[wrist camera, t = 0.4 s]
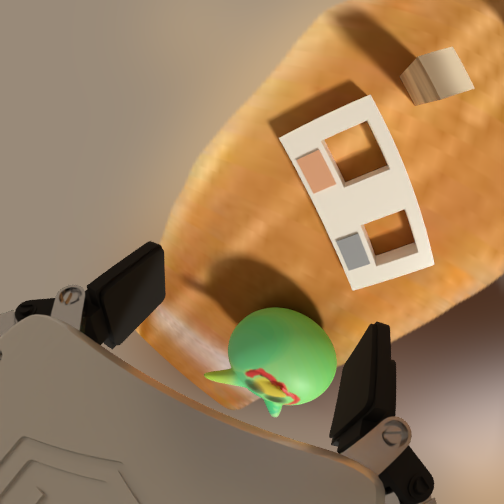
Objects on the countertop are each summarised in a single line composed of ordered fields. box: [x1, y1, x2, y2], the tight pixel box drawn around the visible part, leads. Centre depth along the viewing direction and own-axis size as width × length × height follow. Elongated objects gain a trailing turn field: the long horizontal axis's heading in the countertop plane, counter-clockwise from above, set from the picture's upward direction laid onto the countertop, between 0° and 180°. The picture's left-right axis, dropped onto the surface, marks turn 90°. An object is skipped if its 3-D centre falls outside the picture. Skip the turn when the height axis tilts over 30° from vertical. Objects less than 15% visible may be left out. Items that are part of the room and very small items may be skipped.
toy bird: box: [204, 307, 337, 417], centre depth 41 cm, size 18×17×15 cm
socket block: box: [279, 95, 434, 290], centre depth 30 cm, size 12×22×3 cm, turn 31°
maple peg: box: [399, 47, 475, 106], centre depth 18 cm, size 4×4×11 cm
